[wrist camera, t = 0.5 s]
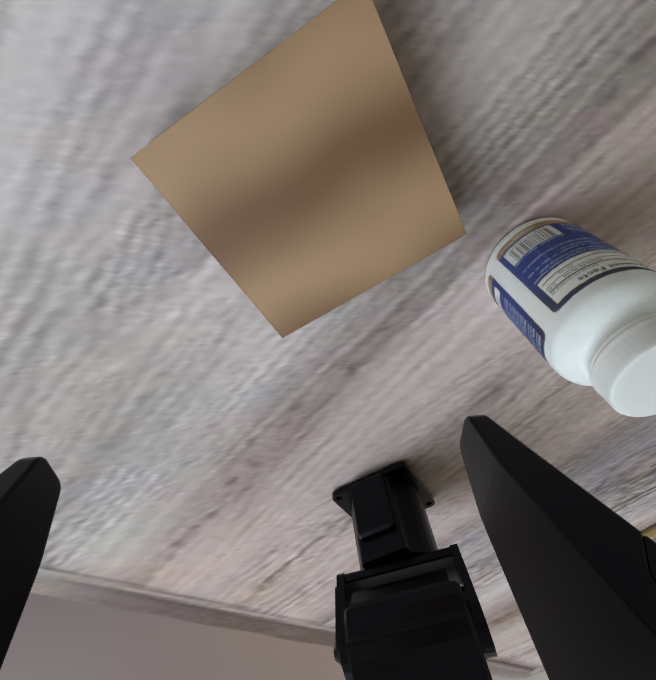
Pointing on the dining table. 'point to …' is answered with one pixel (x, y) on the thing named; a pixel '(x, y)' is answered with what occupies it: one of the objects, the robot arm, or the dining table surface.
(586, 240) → the pill bottle
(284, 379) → the dining table surface
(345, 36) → the tan slab
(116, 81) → the dining table surface
